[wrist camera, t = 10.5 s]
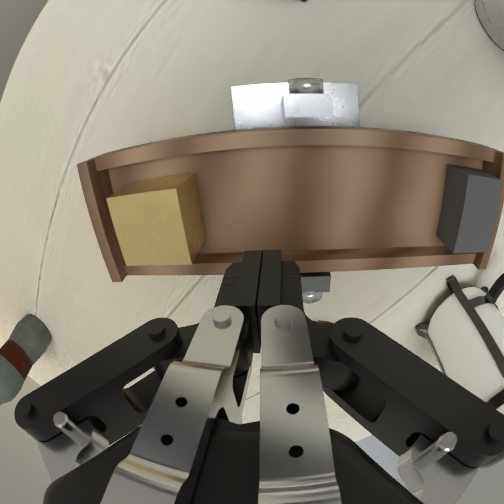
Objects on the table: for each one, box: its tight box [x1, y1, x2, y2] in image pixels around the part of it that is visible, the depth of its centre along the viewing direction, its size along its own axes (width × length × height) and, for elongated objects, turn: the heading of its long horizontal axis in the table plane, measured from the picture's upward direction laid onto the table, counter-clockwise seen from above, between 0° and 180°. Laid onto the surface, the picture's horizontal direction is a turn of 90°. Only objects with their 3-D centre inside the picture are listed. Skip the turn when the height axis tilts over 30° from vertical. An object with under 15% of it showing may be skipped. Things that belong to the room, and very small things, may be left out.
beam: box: [77, 126, 504, 282], centre depth 18 cm, size 32×10×4 cm, turn 95°
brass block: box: [106, 172, 206, 266], centre depth 18 cm, size 5×5×4 cm
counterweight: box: [436, 164, 503, 254], centre depth 16 cm, size 4×6×3 cm, turn 5°
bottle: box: [0, 314, 51, 405], centre depth 34 cm, size 9×9×30 cm
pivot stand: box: [231, 78, 359, 303], centre depth 22 cm, size 12×18×11 cm, turn 5°
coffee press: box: [416, 273, 504, 469], centre depth 21 cm, size 17×16×30 cm
